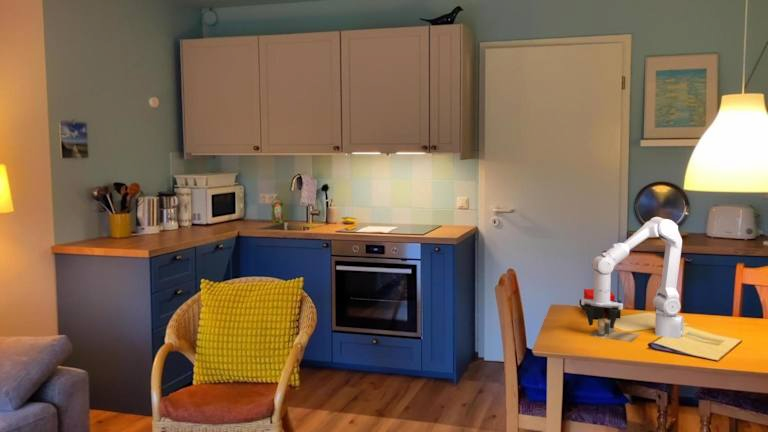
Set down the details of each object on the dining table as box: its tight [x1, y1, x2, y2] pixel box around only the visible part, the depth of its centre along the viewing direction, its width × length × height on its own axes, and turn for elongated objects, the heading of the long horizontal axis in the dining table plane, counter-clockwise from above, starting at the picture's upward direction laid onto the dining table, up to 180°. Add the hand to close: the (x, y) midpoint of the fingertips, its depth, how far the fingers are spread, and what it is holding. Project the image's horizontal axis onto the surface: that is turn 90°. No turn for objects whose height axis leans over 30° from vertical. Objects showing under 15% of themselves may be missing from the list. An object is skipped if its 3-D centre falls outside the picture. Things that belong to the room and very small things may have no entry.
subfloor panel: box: [589, 330, 641, 343], centre depth 259 cm, size 15×12×1 cm
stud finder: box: [604, 318, 615, 335], centre depth 262 cm, size 4×6×4 cm, turn 145°
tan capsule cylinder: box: [596, 318, 605, 338], centre depth 257 cm, size 3×3×6 cm
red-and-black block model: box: [579, 288, 622, 320], centre depth 292 cm, size 15×8×25 cm
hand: (601, 326), depth 257 cm, fingers open, 7 cm apart
